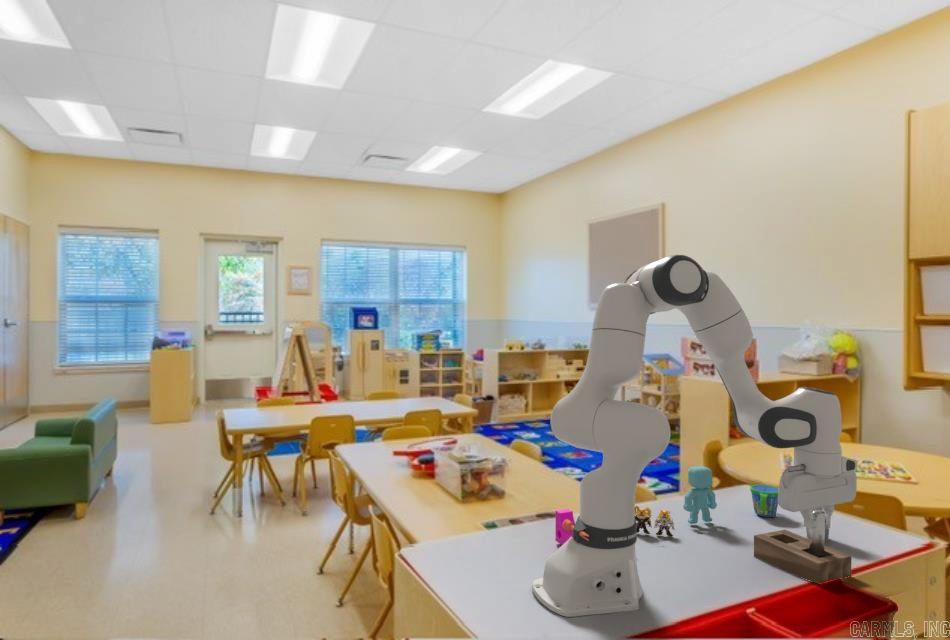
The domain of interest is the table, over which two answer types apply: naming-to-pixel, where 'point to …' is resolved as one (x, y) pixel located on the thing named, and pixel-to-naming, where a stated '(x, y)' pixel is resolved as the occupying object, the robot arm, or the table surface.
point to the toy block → (562, 533)
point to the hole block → (801, 557)
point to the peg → (817, 534)
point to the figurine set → (661, 519)
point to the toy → (699, 494)
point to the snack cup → (764, 500)
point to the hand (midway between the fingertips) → (817, 525)
